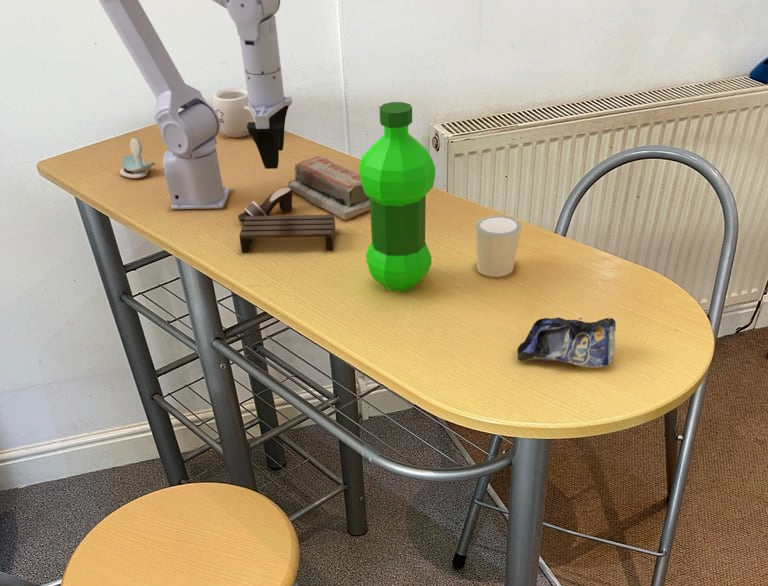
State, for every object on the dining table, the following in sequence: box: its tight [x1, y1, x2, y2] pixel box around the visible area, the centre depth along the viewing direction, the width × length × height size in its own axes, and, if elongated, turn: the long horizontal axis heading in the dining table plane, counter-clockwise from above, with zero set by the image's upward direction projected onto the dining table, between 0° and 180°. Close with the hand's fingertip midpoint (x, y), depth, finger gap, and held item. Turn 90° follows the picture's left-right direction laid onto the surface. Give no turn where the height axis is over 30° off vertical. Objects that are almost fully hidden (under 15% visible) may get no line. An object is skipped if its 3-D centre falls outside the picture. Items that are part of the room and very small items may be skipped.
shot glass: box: [475, 215, 522, 278], centre depth 117 cm, size 7×7×7 cm
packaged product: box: [288, 155, 370, 221], centre depth 137 cm, size 18×5×10 cm
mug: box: [212, 87, 255, 139], centre depth 159 cm, size 12×8×8 cm
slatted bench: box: [238, 214, 337, 254], centre depth 126 cm, size 15×7×3 cm, turn 89°
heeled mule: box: [237, 185, 293, 224], centre depth 133 cm, size 4×11×4 cm, turn 124°
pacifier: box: [119, 137, 156, 179], centre depth 148 cm, size 7×6×6 cm
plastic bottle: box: [358, 101, 436, 292], centre depth 108 cm, size 10×10×25 cm
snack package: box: [516, 317, 617, 368], centre depth 101 cm, size 12×6×12 cm
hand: (274, 158), depth 129 cm, fingers open, 7 cm apart
